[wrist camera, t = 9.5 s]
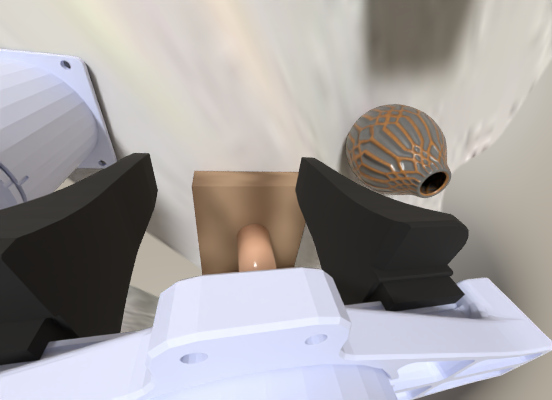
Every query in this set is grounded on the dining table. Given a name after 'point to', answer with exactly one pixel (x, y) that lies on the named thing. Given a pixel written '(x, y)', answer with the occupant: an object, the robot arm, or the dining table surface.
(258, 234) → the peach rounded cylinder
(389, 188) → the vase
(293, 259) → the brown wooden box
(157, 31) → the dining table surface
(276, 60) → the dining table surface
